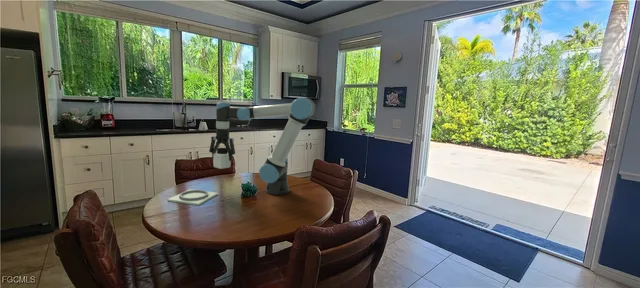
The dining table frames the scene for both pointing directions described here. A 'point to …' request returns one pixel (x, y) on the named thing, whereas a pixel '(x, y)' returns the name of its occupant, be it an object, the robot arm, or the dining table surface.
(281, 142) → the robot arm
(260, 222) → the dining table surface
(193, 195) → the socket board
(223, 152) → the medicine bottle
